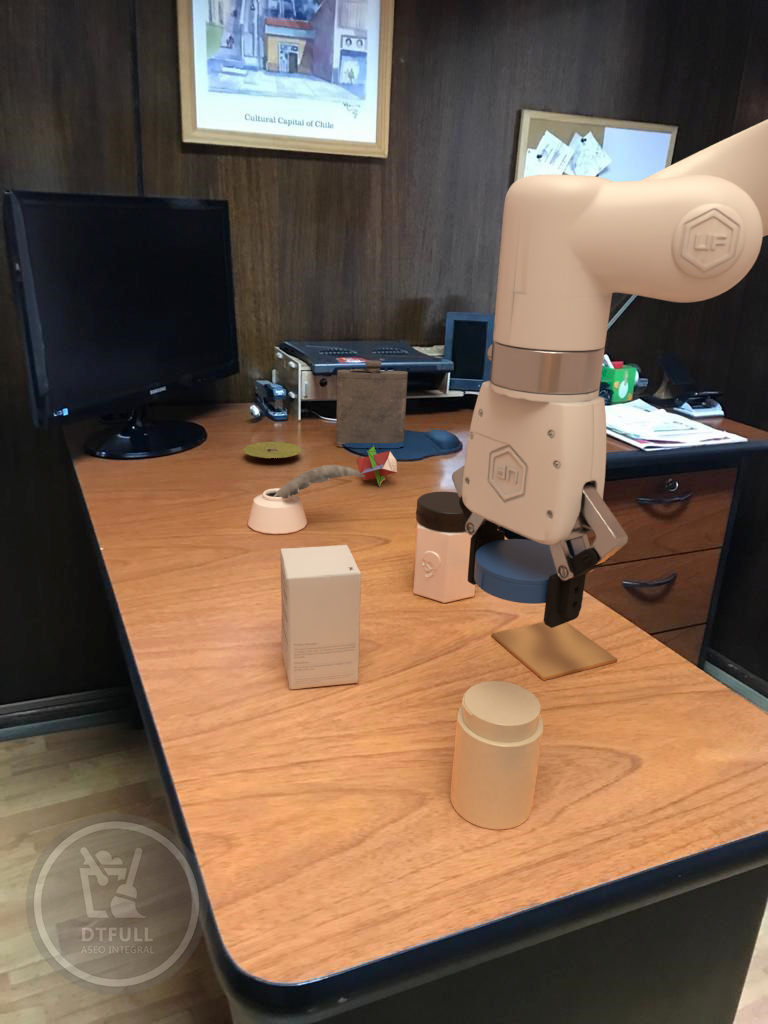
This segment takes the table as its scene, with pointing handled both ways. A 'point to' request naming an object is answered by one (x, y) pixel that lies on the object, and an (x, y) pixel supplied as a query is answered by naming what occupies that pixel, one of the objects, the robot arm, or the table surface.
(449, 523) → the jar
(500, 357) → the robot arm
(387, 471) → the geometric puzzle
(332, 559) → the white packaging box
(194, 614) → the table surface
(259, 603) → the table surface
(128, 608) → the table surface
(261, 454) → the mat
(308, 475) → the inkwell
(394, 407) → the flask
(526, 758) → the jam jar
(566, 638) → the coaster
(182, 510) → the table surface
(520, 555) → the lid
